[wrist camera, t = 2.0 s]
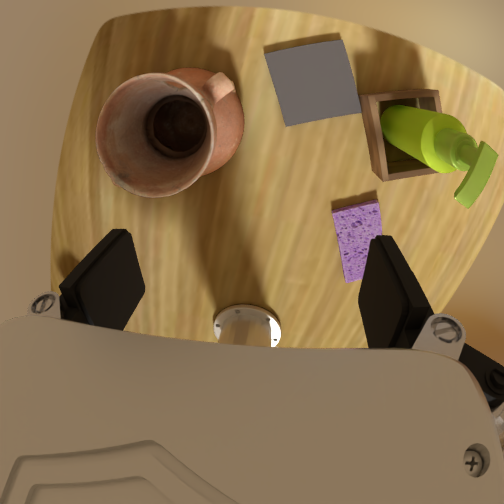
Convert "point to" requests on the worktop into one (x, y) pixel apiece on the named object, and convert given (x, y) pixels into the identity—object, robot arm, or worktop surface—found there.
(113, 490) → the robot arm
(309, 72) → the mat
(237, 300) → the worktop surface
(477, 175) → the soap dispenser
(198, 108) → the ceramic jug
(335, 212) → the sponges
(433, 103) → the holder
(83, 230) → the worktop surface
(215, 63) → the worktop surface
